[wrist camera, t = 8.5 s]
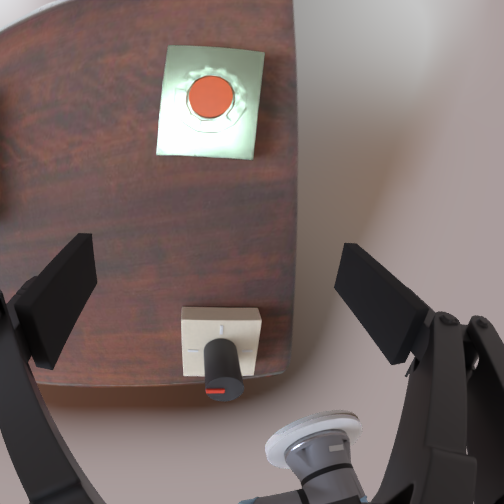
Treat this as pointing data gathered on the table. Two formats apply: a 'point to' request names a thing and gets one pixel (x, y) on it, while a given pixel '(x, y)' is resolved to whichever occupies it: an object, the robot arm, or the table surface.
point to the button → (210, 96)
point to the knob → (222, 370)
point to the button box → (209, 129)
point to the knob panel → (219, 335)
